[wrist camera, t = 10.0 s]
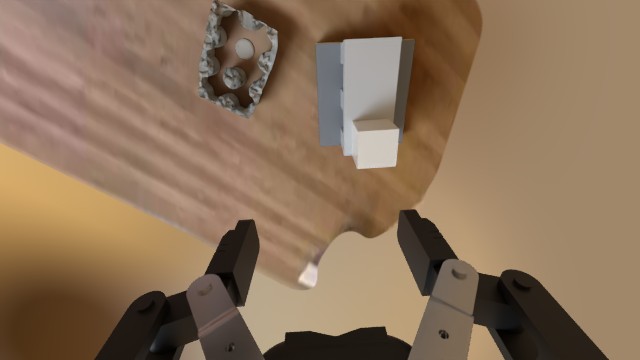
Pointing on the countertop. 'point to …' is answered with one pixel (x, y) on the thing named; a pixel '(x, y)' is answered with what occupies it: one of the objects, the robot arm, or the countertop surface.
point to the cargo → (374, 143)
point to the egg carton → (243, 49)
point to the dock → (333, 83)
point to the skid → (368, 82)
